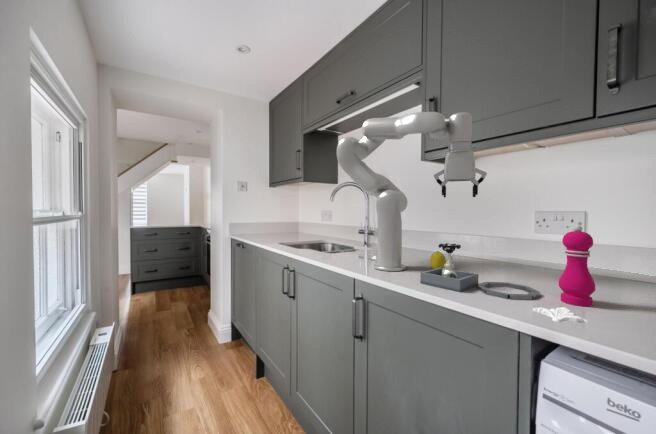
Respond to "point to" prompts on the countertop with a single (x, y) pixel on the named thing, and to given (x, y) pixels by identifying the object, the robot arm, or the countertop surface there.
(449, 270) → the valve
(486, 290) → the segmented octagonal ring
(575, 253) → the pepper mill
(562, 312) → the acanthus leaf ornament
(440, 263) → the lemon
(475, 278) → the bin
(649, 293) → the countertop surface
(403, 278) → the countertop surface
